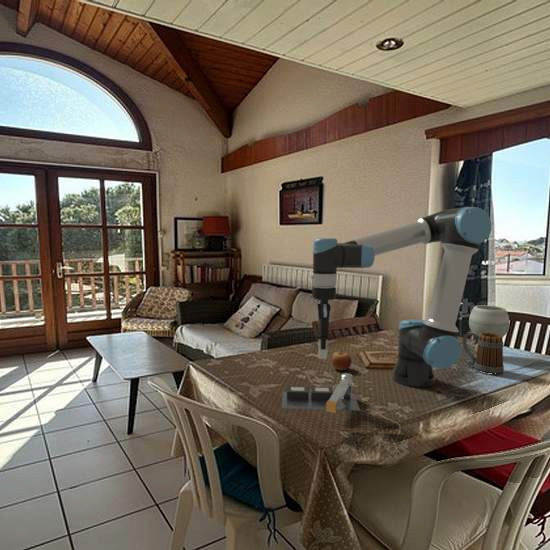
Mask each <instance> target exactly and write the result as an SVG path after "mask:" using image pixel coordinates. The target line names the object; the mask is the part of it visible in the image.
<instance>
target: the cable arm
mask: <svg viewBox="0 0 550 550" xmlns="http://www.w3.org/2000/svg"><path fill="white" fill-rule="evenodd" d="M350 386H351V387H352V386H353V374H351V373H348V372H344V373H341V377H340V381H339V382H338V384H337V385H336V387H335V389H334V390H333V394H332V396H331V397H330V399H329V400H328V401H327V402H326V410H325V412H327V413H333V414H336V413H337V412H338V410H337V408H338V406H339V404H340V402H341V400H342V398H343V396H344V394H345V392H346V391H347V389H348V387H350Z"/></svg>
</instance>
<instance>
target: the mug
mask: <svg viewBox="0 0 550 550" xmlns="http://www.w3.org/2000/svg"><path fill="white" fill-rule="evenodd" d="M470 335H471V336H473V337H474V339H475V341H474V342H473V345H474V346H476V344H477V343H478V347H477V352H476V353H475V354H476V356H474V354H473V353H472V352H471V351H470V349H469V347H468V344H467V338H468V336H470ZM503 339H504V337H502V335H499V334H495V333H491V334H490V333H480V334H479V336H478V335H477V334H476V333H474V332H472V331H469V332H467V333H465V334H463V337H462V346H463V350H464V351H465V352H466V354H467V355H468V356H469V357H470V359H471V360H469V359H468V360H466V363H467V365H469V366H470V367H471V366H474V370H475V369H477V370H478V371H482V372H485V373H492V374H495V373H496V374H500V373H502V374H503V373H504V369H505V368H504V367H505V366H504V350H503V349H504V348H503V347H504V341H503ZM477 370H476V371H477ZM478 371H477V372H478ZM500 375H501V374H500Z"/></svg>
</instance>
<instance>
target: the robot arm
mask: <svg viewBox="0 0 550 550" xmlns="http://www.w3.org/2000/svg"><path fill="white" fill-rule="evenodd" d="M492 229H493V227H492V221H491V218H490V216H489V215H488V213H487V212H486V211H485V210H484V209H482V208H480V207H474V206H463V207H458V208H449V209H443V210H441V211H438V212H436V213H432V214H430V215H427V216H424V217H421V218H418V219H417V220H416V222H413V223H410V224H406V225H403V226H399V227H395V228H392V229H388V230H384V231H381V232H377V233H374V234H370V235H367V236H364V237H363V236H362V237H359V238H356V239H352V240H348V241H345V242H343V243H342V242H338V239H337V238H332V237H331V238H329V237H328V238H327V237H326V238H325V237H324V238H323V237H318V238H315V239H314V241H313V249H312V255H313V256H312V265H313V266H312V275H310V279H311V280H312V285H313V287H312V294H311V295H312V298H313V299H314V300H317V301H318V300H319V303H317V305H316V306H317V317H318V333H317V334H318V336H317V338H316V339H317V340H318V359H320V360H321V359H322V360H326V359H328V340H329V338H330V335H329V328H330V327H329V325H330V322H329V321H330V317H331V316H330V315H331V312H330V311H331V304H330V303H329V301H333V300H335V299H336V298H337V288H336V287H335V286H337V278H338V277H337V275H338V274H337V270H338V268H339V269H345V268H346V269H349V268H351V269H365V268H371V267H372V266H373V265H374V262H375V256H379V255H383V254H385V253H390V252H393V251H396V250H400V249H403V248H408V247H411V246H415V245H418V244H421V243H422V245H423V244H424V245H428V244H431V243H439V242H440V243H441V244H440V245H441V247H442V249H443V251H444V252H443V256H442V259H441V265H440V269H439V272H438V278H437V281H436V286H435V290H434V294H433V298H432V303H431V307H430V310H429V315H428V318H427V319H404V320H401V321H400V322H399V327H398V347H397V348H398V350H397V360H396V362H395V364H394V367H393V370H392V379H393V380H394V382H396V383H398V384H401V385H403V386H408V387H415V388H426V387H431V386H433V385H434V384H435V383H436V381H435V380H436V378H435V373H434V369H433V367H434V368H437V369H447V368H451V367H452V366H454V365H455V364H456V363H457V362H458V361H459V360H460V358H461V356H462V352H463V349H462V345H461V343H460V340H459V339H458V337H459V331H460V330H459V329H458V327H457V326H456V323H457V320H458V314H459V311H460V307H461V303H462V299H463V296H464V295H463V294H464V291H465V286H466V282H467V278H468V274H469V269H470V265H471V261H472V258H473V257H472V256H473V255H474V254H476V253H477V252H478V251H479V250H480V246H481V243H482V242H485V240H487V239H488V238H489V237H490V236H491V233H492Z"/></svg>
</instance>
